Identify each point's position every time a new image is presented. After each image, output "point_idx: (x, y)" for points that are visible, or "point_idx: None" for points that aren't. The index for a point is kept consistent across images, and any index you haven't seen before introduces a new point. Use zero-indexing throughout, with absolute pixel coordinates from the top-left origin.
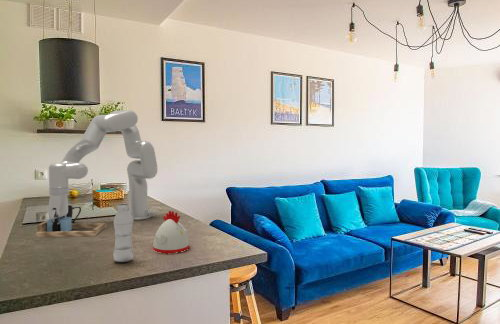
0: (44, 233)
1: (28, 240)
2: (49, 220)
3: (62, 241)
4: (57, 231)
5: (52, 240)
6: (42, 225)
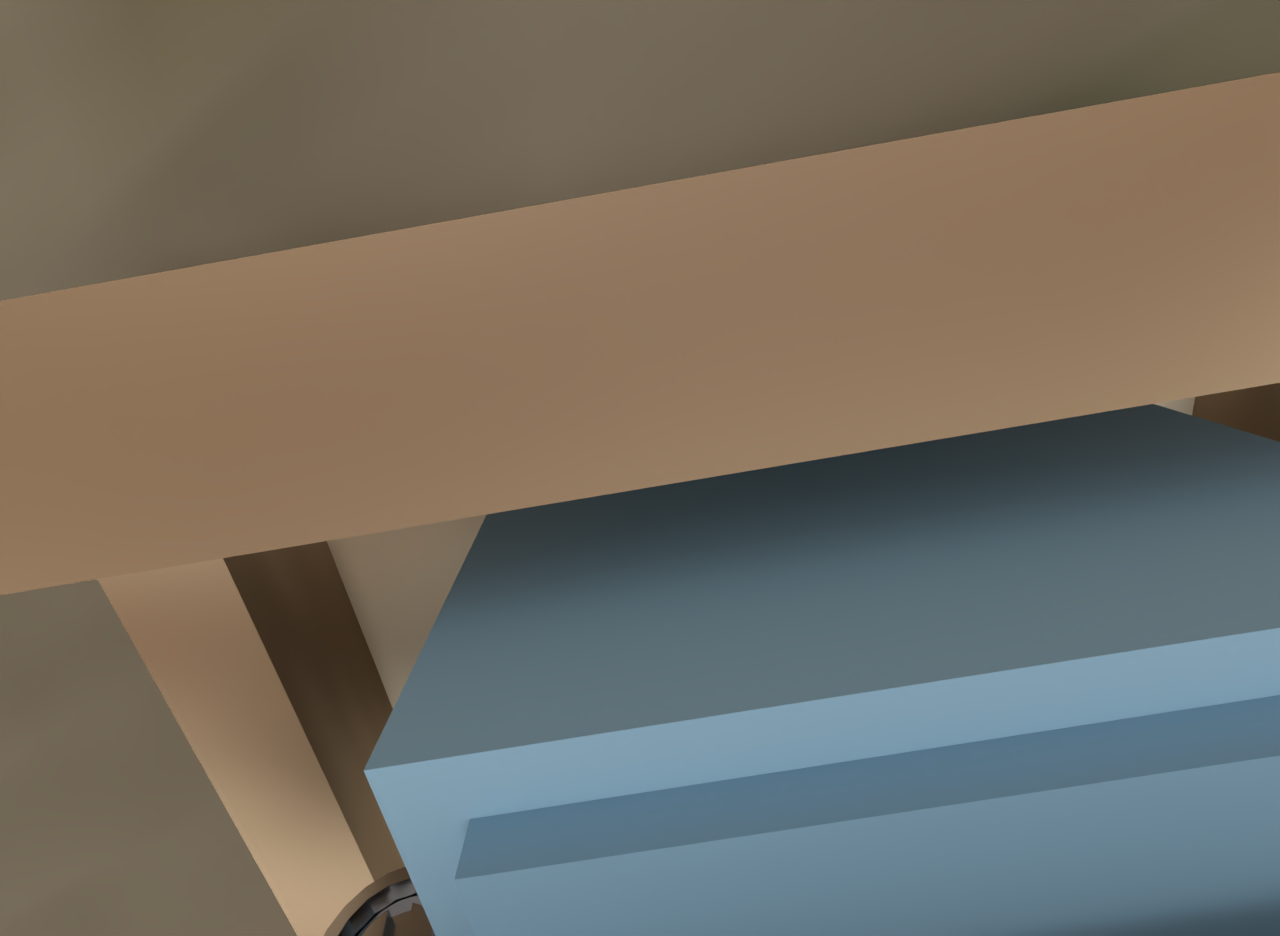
0: (143, 596)
1: (17, 108)
2: (427, 908)
3: (257, 887)
4: (369, 864)
5: None
6: (33, 563)
